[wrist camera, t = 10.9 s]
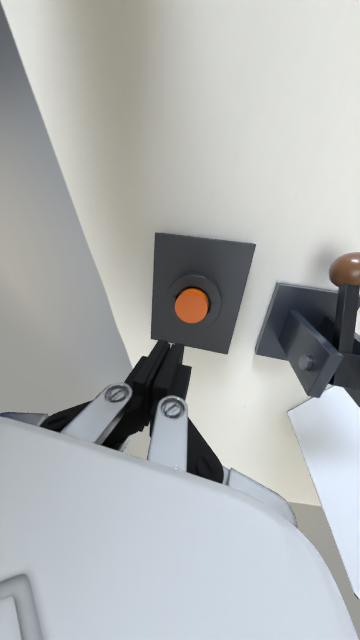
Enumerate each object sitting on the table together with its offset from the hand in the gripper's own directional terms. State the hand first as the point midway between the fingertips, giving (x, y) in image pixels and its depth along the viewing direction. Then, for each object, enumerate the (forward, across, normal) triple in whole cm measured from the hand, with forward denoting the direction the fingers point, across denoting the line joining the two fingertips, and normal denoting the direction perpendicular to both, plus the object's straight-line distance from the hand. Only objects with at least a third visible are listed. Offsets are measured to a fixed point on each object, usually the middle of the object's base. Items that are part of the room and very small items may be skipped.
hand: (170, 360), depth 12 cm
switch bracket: (+15, -14, +2) cm, 21 cm away
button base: (+15, 0, 0) cm, 15 cm away
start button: (+11, 0, 0) cm, 11 cm away
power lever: (+10, -14, -2) cm, 17 cm away
